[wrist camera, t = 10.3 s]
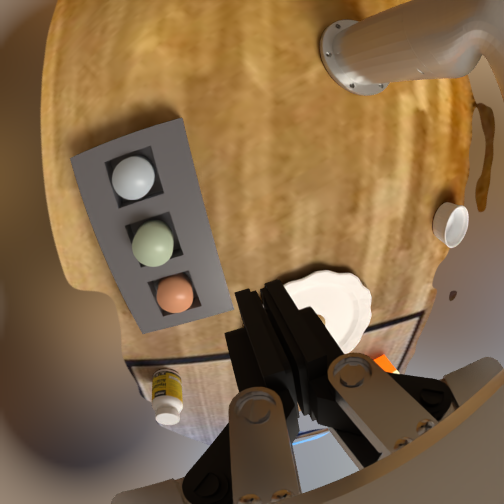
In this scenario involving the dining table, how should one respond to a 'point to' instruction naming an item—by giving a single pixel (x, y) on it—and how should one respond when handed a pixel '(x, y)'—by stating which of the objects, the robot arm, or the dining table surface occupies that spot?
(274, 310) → the robot arm
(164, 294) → the terracotta button
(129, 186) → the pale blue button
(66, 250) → the dining table surface
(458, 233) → the ramekin
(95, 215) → the button panel
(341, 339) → the plate
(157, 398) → the supplement bottle
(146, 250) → the sage button
